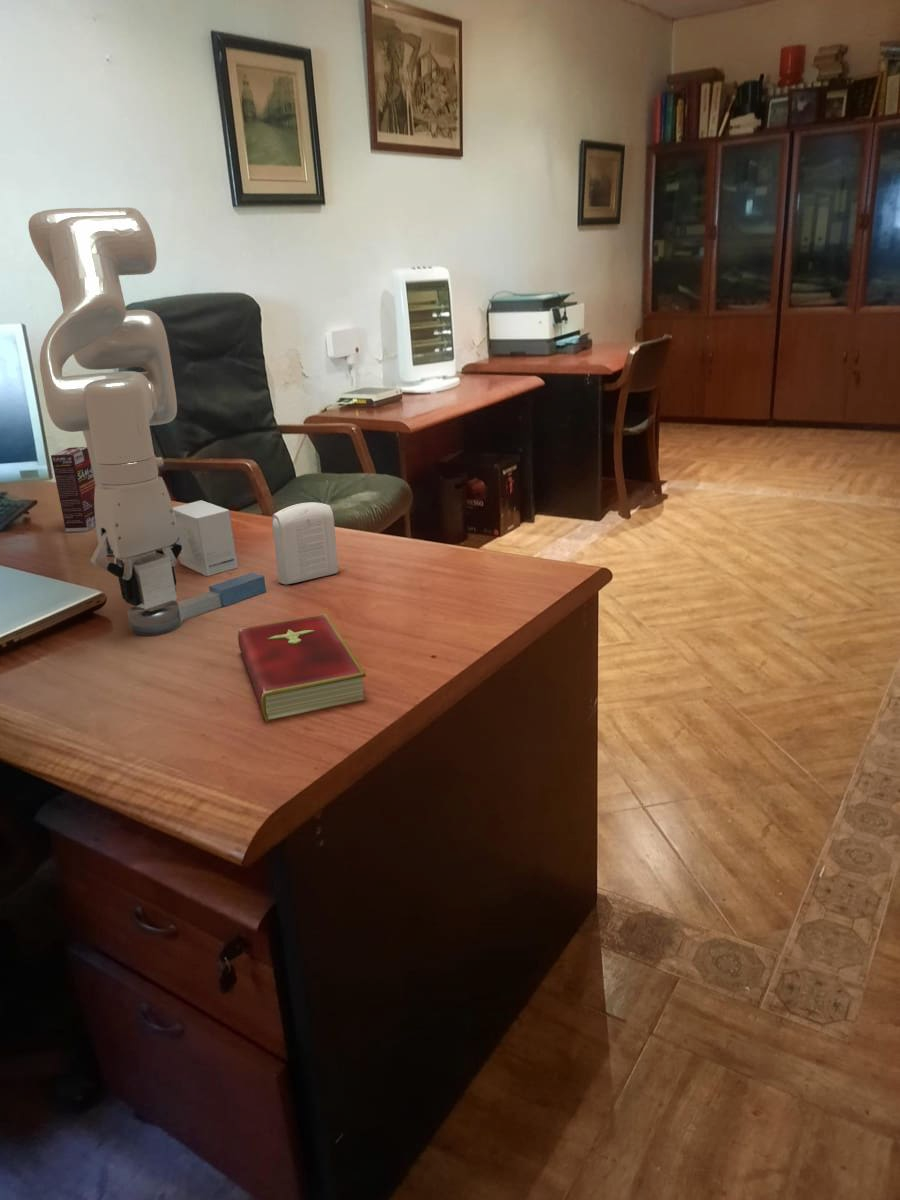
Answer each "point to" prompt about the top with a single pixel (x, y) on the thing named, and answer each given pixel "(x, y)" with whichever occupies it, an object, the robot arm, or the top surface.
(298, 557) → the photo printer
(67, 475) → the supplement box
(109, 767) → the top surface
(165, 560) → the white cube
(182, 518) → the skincare box
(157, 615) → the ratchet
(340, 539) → the top surface
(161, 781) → the top surface
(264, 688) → the hardcover book
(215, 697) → the top surface
